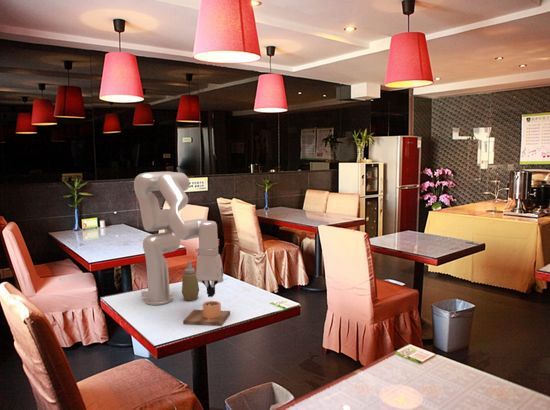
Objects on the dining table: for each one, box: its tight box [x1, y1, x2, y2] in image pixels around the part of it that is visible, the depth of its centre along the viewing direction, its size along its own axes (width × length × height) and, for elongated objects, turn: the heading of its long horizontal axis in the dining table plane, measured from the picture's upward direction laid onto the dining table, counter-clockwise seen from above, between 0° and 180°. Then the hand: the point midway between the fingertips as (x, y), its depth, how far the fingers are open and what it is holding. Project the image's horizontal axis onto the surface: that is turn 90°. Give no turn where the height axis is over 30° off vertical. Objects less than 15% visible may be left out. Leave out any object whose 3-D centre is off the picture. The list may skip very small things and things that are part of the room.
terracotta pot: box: [202, 300, 222, 319], centre depth 170 cm, size 7×7×6 cm
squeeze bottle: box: [181, 260, 200, 301], centre depth 195 cm, size 8×8×18 cm
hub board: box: [182, 304, 231, 327], centre depth 170 cm, size 16×12×6 cm
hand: (211, 295), depth 169 cm, fingers closed
